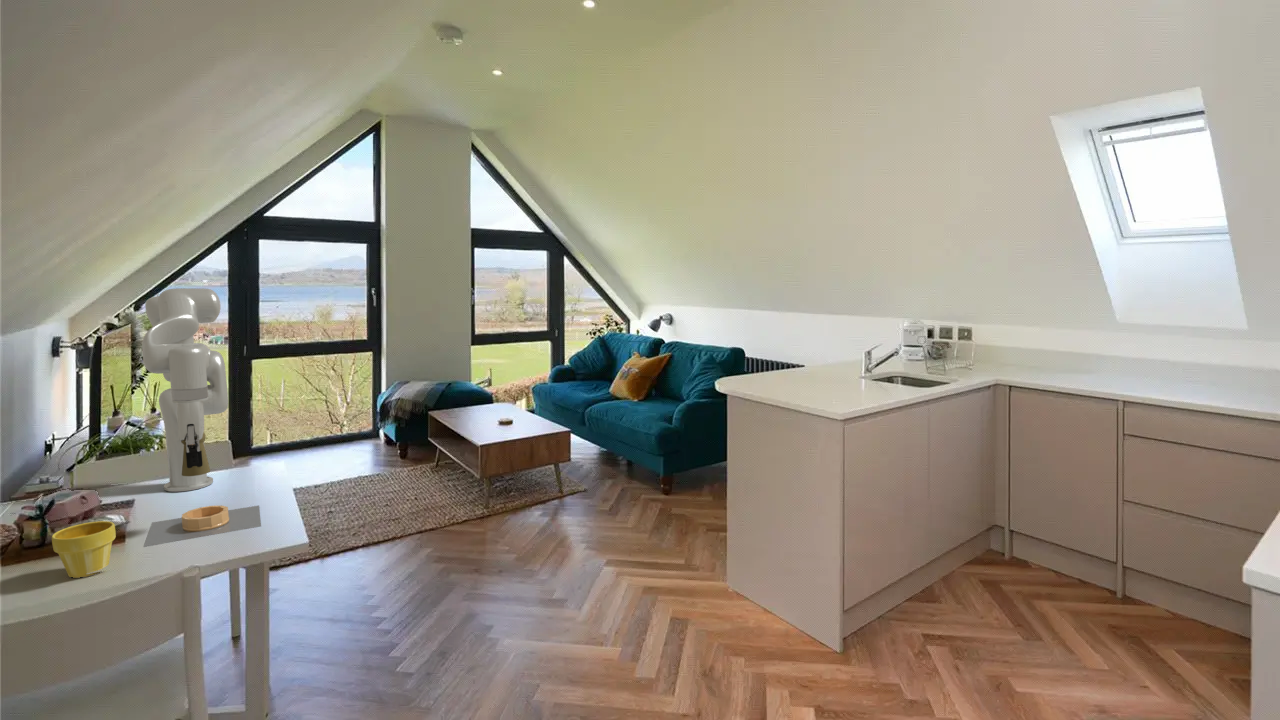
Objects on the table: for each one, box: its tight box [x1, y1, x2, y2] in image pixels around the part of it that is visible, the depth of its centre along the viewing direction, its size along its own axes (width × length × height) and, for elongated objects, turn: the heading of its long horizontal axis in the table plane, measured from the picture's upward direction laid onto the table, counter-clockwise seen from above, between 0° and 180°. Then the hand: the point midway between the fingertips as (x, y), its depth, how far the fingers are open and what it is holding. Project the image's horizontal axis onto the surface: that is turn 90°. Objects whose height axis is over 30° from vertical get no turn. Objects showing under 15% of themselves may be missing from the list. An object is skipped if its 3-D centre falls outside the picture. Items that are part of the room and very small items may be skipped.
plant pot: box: [51, 520, 117, 579], centre depth 136 cm, size 10×10×10 cm
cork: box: [182, 430, 211, 476], centre depth 158 cm, size 6×6×11 cm
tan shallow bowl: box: [181, 505, 229, 532], centre depth 161 cm, size 10×10×3 cm
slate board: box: [143, 505, 262, 548], centre depth 161 cm, size 18×24×1 cm
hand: (195, 463), depth 159 cm, fingers closed on cork, 4 cm apart
